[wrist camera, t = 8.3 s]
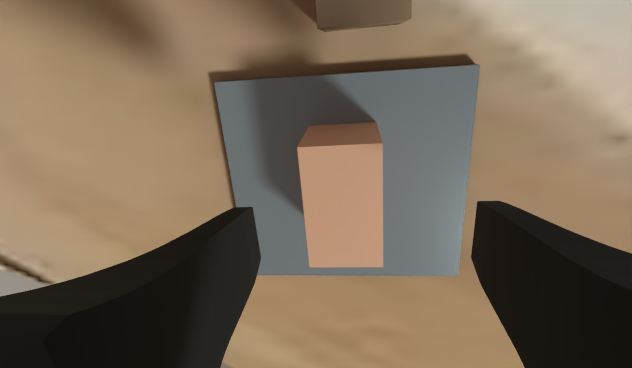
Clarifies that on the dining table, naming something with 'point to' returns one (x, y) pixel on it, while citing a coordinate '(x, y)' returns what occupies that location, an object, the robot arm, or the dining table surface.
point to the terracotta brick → (343, 194)
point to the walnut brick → (360, 13)
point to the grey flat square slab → (398, 160)
